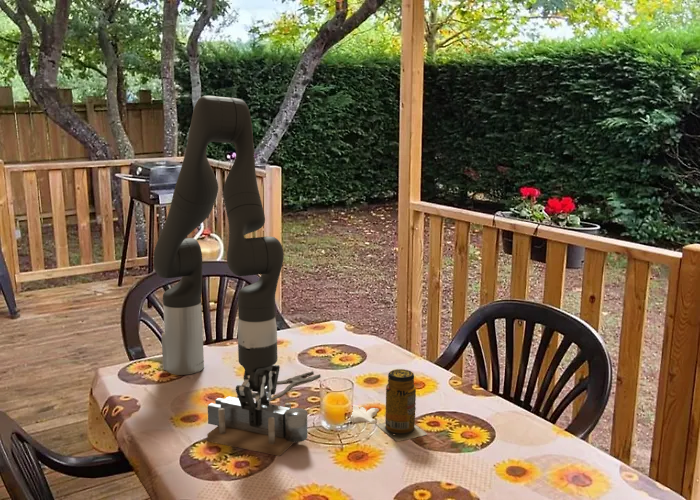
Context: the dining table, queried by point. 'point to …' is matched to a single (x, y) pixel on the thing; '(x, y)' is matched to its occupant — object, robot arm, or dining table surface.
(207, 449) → the dining table surface
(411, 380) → the condiment
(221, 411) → the rack
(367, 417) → the acanthus leaf ornament
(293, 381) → the pliers
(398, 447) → the dining table surface
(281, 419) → the grey metal bar
